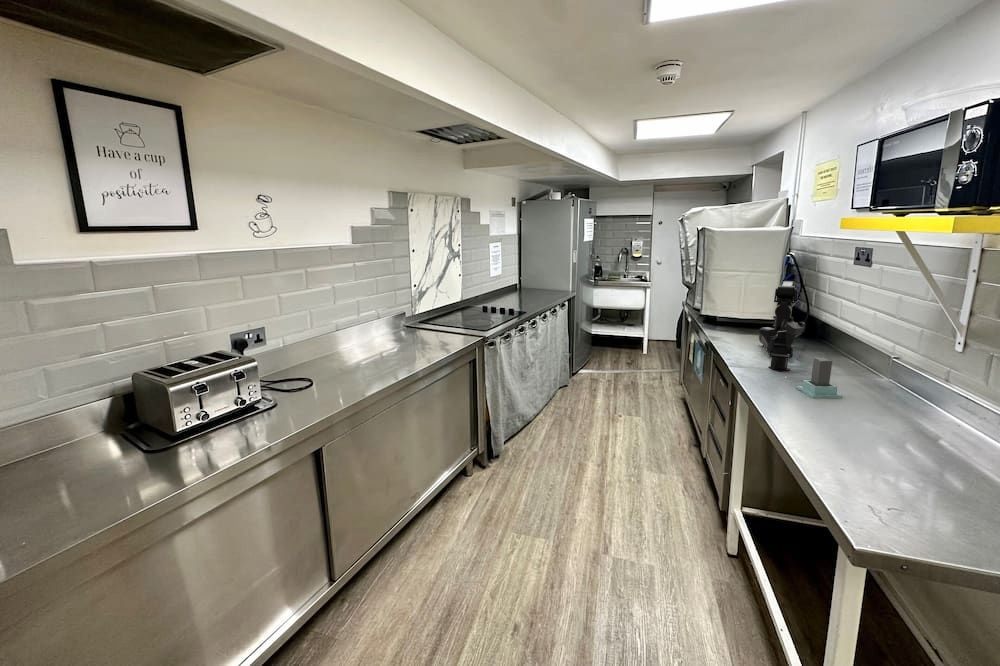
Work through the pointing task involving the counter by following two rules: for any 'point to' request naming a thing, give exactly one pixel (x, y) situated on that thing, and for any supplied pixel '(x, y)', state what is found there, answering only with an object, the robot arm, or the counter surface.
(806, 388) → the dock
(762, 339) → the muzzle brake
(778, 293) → the robot arm
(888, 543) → the counter surface
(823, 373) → the plug
